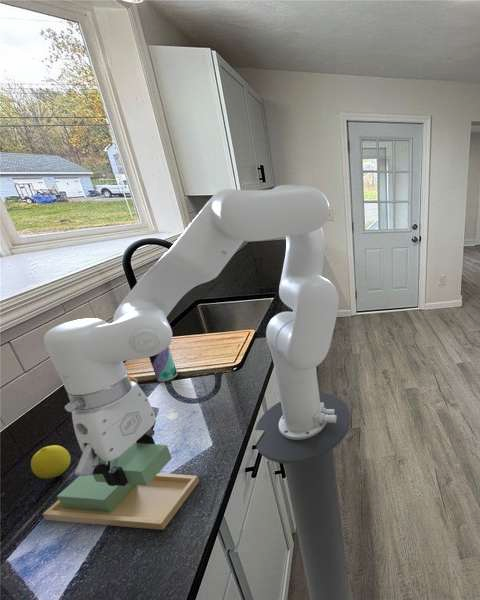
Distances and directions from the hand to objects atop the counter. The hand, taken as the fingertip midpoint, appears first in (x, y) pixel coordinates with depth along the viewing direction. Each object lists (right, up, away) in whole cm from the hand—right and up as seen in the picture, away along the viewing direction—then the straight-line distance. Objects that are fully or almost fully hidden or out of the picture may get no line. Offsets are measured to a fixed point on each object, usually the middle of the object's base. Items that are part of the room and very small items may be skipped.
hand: (134, 467), depth 60 cm
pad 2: (0, -1, 0) cm, 1 cm away
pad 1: (-10, -8, +4) cm, 14 cm away
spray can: (-26, +6, +43) cm, 51 cm away
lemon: (-25, -7, +9) cm, 27 cm away
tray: (-5, -9, +4) cm, 11 cm away
